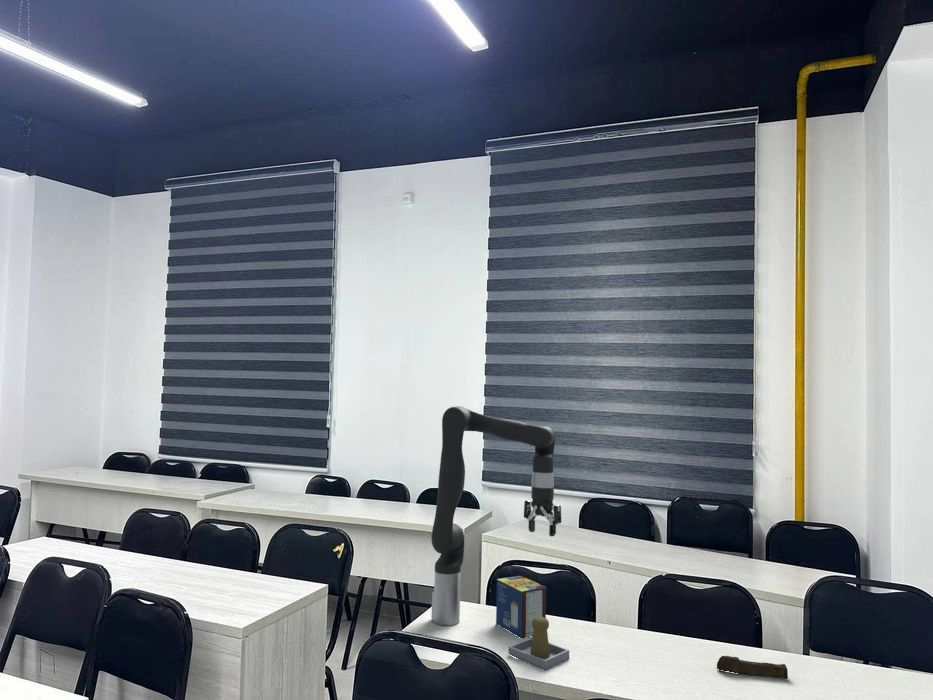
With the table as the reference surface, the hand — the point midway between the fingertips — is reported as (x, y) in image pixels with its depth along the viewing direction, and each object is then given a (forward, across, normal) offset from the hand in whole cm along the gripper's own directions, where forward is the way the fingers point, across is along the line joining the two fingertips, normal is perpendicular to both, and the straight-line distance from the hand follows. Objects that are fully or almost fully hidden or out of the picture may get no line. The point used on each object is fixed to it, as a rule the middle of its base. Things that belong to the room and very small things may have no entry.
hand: (542, 533), depth 210 cm
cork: (+33, +11, -14) cm, 37 cm away
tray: (+33, +11, -15) cm, 38 cm away
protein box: (+33, -8, -1) cm, 34 cm away
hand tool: (+34, +60, +22) cm, 73 cm away
